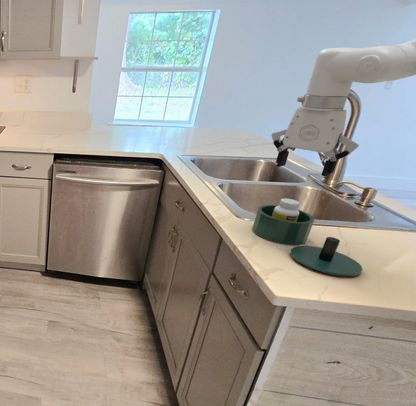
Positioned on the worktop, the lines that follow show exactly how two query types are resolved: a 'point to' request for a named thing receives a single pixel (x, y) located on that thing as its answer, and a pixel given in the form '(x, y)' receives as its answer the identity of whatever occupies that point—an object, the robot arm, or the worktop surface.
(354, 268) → the lid
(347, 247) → the worktop surface
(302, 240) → the pot
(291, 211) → the supplement bottle
